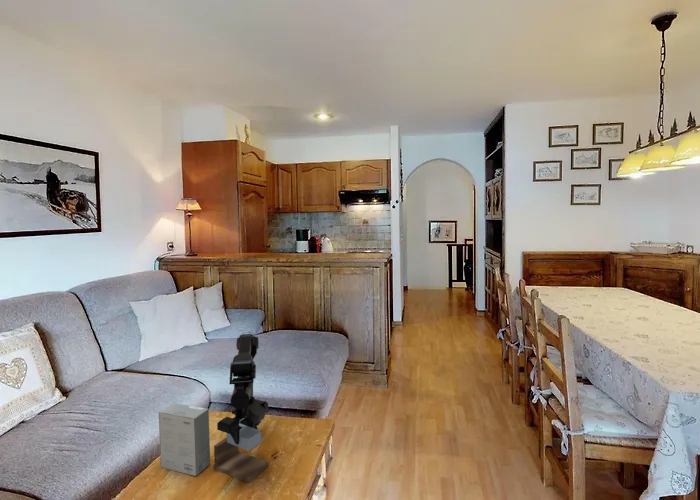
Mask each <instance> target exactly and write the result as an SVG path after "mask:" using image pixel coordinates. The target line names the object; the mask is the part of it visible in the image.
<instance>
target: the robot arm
mask: <svg viewBox="0 0 700 500" xmlns="http://www.w3.org/2000/svg"><path fill="white" fill-rule="evenodd" d="M235 345H236V350H237V351H238V352H237V353H238V354H237V355H234V356H233V359H232V362H231V363H230V369H229V385H233V390H232V393H231V397H230V404H231V406H232V407H233V408H234V409H233V410H232V411H231V414H232V415H234V417H229V416H226V417H224V418H222V419H219V421H218V422H217V424H216V427H217V430H218V431H221V432H223V433H226V434H227V433H229V434H230V435H231V436H232V438H233V440H234V442H235V444H237V445H238V444H239V433H240V430H241V429H242V427H241V426H239V424H243V425H246V426H249V427H251V428H254V429H257V430H259V429H258V426H259V425H260V424H261V423H262V420H264V419H265V417H266V414H267V413H269V402H267V401H266V400H261V399H260V400H259V399H257V398H255V396H254V381H255V379H256V376H257V375H256V373H257V372H256V371H257V364H256V362H255V361H254V359H255V357H256V355H257V354H258V349H259V348H260V347H259V346H260V342H259V337H258V336H255V335H254V334H252V333H244V334H243V333H242V334H239V336H238V337H237V338H236V344H235Z"/></svg>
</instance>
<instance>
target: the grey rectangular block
mask: <svg viewBox="0 0 700 500" xmlns="http://www.w3.org/2000/svg"><path fill="white" fill-rule="evenodd" d="M239 426H241V427H242V429H241V430H240V433H239V444H238V445H237V444H235V442H234V440H233V438H232V436H231V435H230V434H229V433H226V437H227V443H230V444H232V445H235V446H237V447H239V448H240V449H242V450H244V451H247V452H249V451H251V450H252V449H254V448H255V447H257V446H258V445H259V444H261V443H262V430H259V429H258V430H257V429H254V428H251V427H249V426H246V425H243V424H239Z"/></svg>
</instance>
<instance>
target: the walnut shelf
mask: <svg viewBox="0 0 700 500" xmlns="http://www.w3.org/2000/svg"><path fill="white" fill-rule="evenodd" d="M239 448H240V447H237V446H235V445H232V444H230V443H227V436H226V437H225V438H224V439H222V440H221V441H219V442H217V443H216V444H214V445H213V449H214V451H213V453H214V463H213V465H212V470H215V471H218V472H219V473H223V474H225V475H227V476H230V477H234V478H235V479H237V480H241V481H243V482H245V483H251V482H252V481H253V480H254V479H255V478H257V477H258V476H259V475H260V474H261V473H263V471H265V470H266V469H268V467H269V466H270V465H269V464H270V463H269V461H268V460H265V459H262V458H259V457H256V456H253V455H250V454H248V453H244V452H241V451H239Z"/></svg>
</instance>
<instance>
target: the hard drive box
mask: <svg viewBox="0 0 700 500" xmlns="http://www.w3.org/2000/svg"><path fill="white" fill-rule="evenodd" d="M209 413H210V411H209V408H206V407H199V406H193V405H188V404H187V405H186V404H181V403H172V404H170V405H169V406H167V407H165V408H163V409H161V410H160V411H159V412H158V426H159V427H158V428H159V429H158V430H159V431H158V432H159V452H160V453H159V455H160V457H159V458H160V467H161V468H163V469H167V470H169V471H173V472H178V473H183V474H185V475H188V476H189V475H190V476H193V477H196V476H198V475H199V474H200V473H202V471H204V470H205V469H206V468H207V467H208V466H210V465H211V445H210V444H211V442H210V440H211V439H210V415H209Z"/></svg>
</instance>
